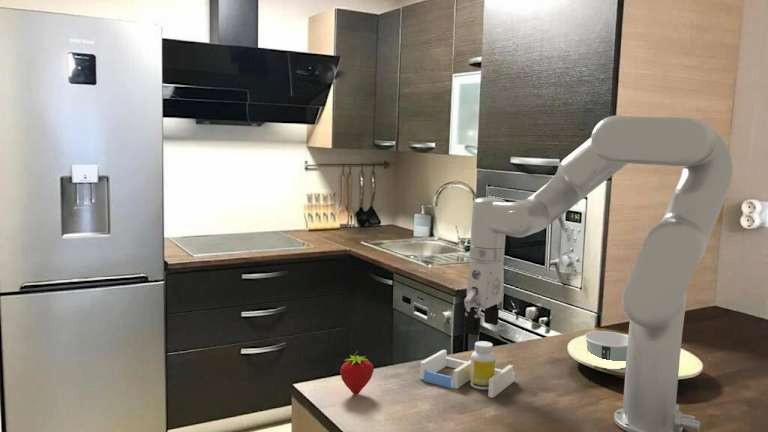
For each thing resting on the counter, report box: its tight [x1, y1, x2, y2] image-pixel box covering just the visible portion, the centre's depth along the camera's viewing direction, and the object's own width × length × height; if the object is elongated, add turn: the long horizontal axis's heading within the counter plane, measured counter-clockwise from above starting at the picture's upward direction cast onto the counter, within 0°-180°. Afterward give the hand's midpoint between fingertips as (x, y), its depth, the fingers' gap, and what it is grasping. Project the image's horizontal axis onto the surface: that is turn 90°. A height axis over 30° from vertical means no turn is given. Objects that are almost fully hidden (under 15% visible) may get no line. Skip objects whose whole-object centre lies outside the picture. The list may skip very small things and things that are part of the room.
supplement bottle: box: [469, 340, 496, 391], centre depth 145 cm, size 5×5×10 cm
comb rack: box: [419, 349, 516, 399], centre depth 148 cm, size 18×13×4 cm
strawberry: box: [339, 350, 375, 395], centre depth 139 cm, size 6×8×10 cm
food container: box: [583, 330, 628, 361], centre depth 162 cm, size 12×12×6 cm
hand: (481, 328), depth 144 cm, fingers open, 9 cm apart
